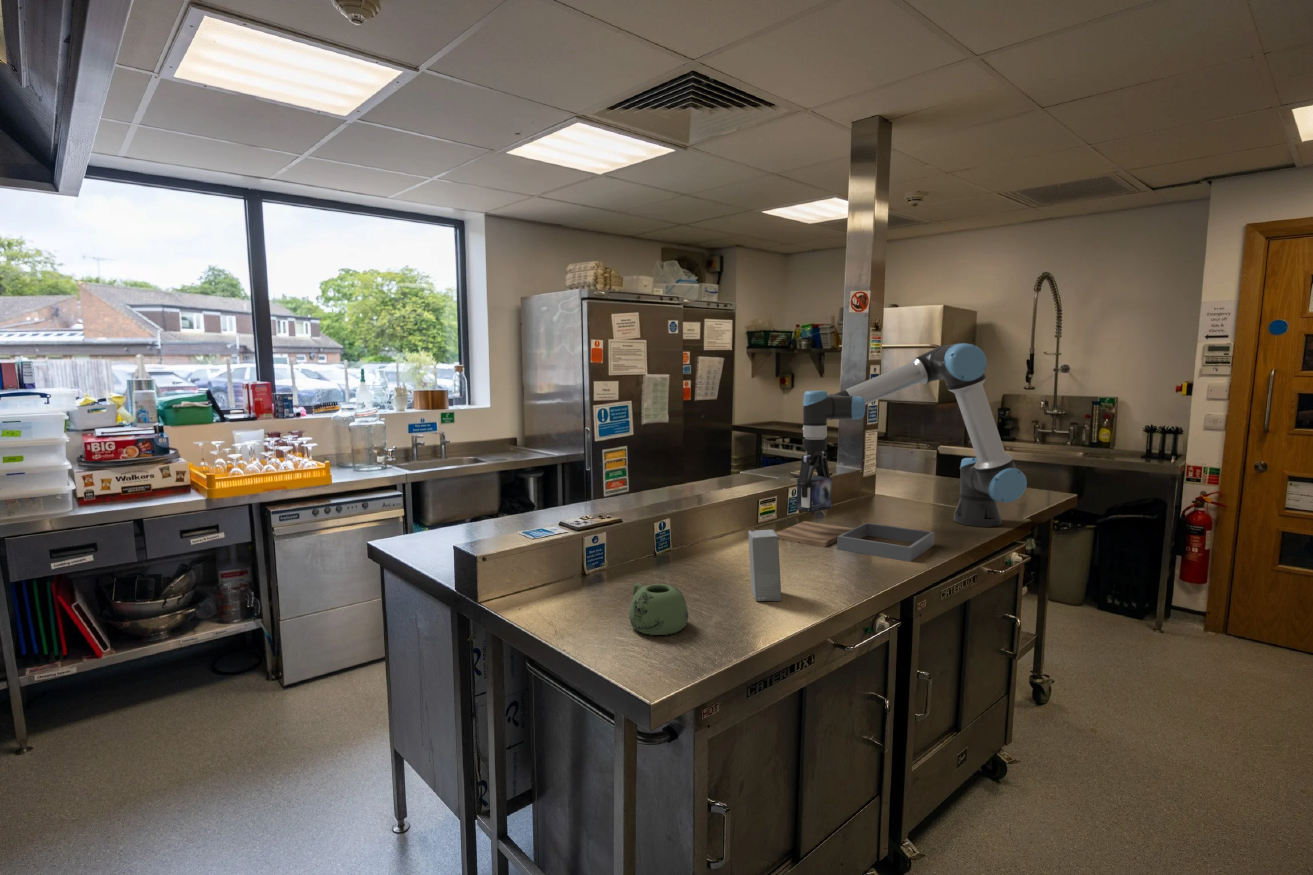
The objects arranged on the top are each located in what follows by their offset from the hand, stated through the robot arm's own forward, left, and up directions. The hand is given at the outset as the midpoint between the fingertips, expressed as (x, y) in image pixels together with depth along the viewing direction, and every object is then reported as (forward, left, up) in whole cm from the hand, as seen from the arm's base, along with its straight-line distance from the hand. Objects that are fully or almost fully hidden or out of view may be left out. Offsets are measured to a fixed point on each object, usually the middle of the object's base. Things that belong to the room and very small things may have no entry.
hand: (814, 504), depth 214 cm
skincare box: (+60, +16, -11) cm, 63 cm away
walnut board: (0, 0, -11) cm, 11 cm away
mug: (+90, +6, -11) cm, 91 cm away
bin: (0, +24, -11) cm, 26 cm away
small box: (0, 0, -2) cm, 2 cm away
